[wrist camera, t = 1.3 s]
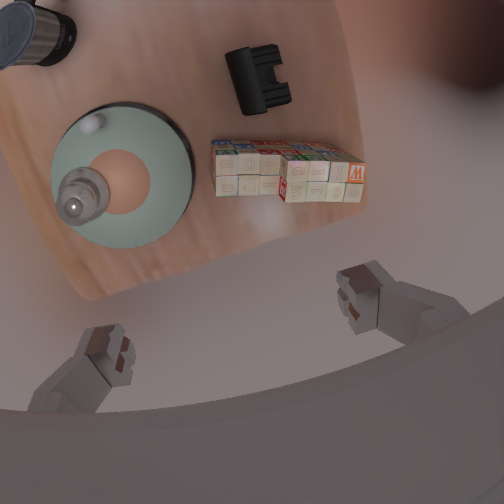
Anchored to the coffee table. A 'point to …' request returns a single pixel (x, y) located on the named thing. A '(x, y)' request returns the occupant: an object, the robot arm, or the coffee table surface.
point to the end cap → (257, 79)
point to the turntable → (128, 174)
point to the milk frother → (34, 35)
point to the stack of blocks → (286, 170)
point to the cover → (82, 196)
